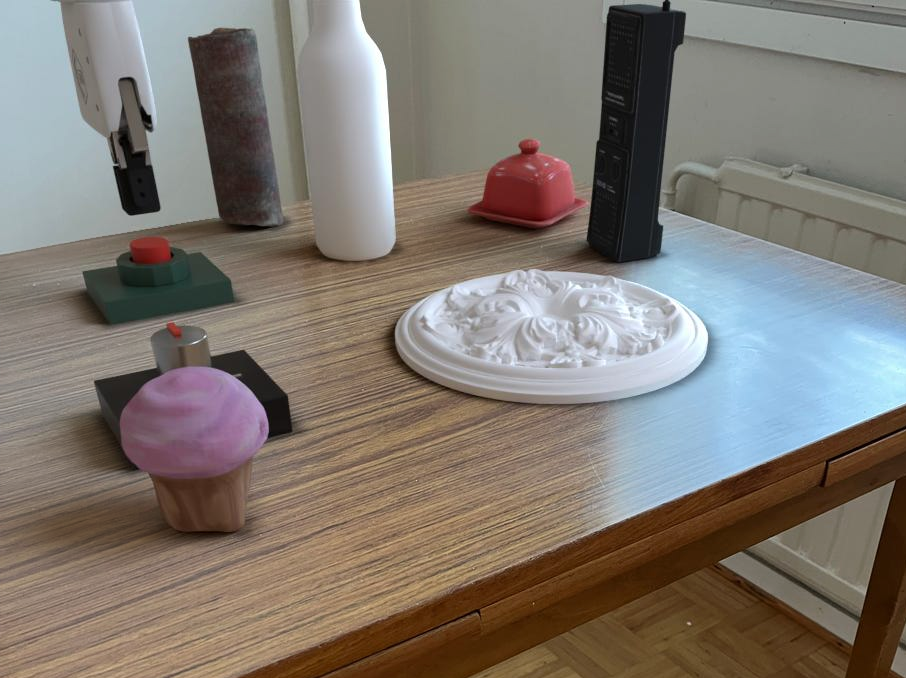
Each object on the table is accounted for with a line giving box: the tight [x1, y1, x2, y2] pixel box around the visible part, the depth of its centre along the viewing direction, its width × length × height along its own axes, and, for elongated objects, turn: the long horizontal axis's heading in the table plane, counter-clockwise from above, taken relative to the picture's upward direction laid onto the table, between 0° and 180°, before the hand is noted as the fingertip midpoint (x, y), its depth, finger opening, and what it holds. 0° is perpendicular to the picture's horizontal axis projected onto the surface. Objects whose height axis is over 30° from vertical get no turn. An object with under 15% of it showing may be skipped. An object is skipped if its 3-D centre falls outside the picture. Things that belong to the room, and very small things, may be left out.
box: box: [81, 245, 235, 326], centre depth 96 cm, size 12×10×4 cm
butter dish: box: [466, 138, 589, 229], centre depth 115 cm, size 12×12×8 cm
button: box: [129, 236, 171, 264], centre depth 94 cm, size 4×4×2 cm
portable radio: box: [585, 0, 687, 263], centre depth 100 cm, size 8×6×25 cm
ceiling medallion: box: [394, 268, 709, 405], centre depth 88 cm, size 28×28×3 cm
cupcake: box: [120, 367, 269, 533], centre depth 62 cm, size 9×9×10 cm
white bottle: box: [297, 0, 397, 262], centre depth 99 cm, size 9×9×30 cm
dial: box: [149, 321, 213, 377], centre depth 72 cm, size 4×4×4 cm
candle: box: [187, 27, 284, 228], centre depth 110 cm, size 8×7×20 cm
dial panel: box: [93, 349, 294, 471], centre depth 75 cm, size 12×10×3 cm
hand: (142, 211), depth 92 cm, fingers closed
